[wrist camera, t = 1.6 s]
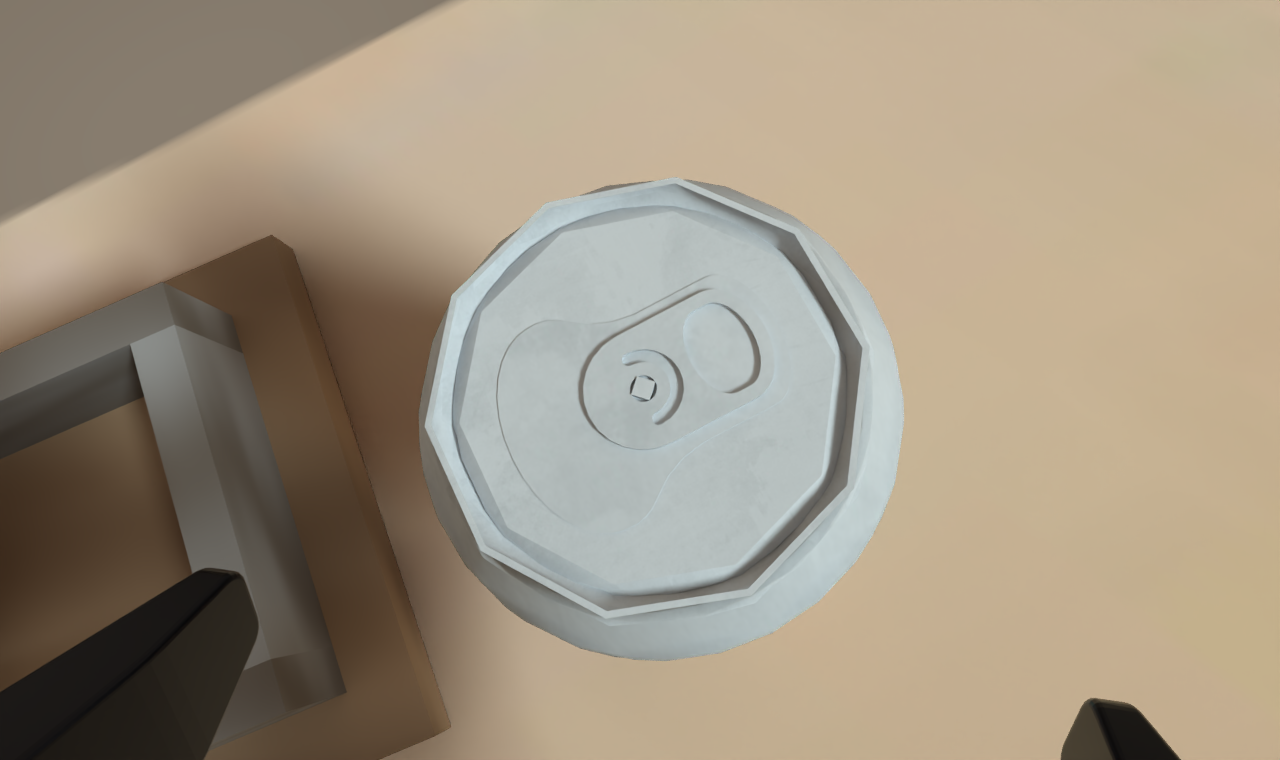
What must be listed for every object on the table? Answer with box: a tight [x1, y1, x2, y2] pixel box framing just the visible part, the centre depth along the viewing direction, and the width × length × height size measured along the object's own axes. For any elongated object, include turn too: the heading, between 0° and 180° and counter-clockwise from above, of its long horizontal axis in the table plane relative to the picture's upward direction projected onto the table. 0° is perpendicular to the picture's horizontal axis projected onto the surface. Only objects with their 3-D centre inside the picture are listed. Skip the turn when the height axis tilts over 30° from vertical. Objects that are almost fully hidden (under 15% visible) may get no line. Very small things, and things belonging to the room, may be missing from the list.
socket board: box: [0, 235, 451, 760], centre depth 19 cm, size 12×12×4 cm
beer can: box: [419, 177, 904, 661], centre depth 13 cm, size 5×5×12 cm
